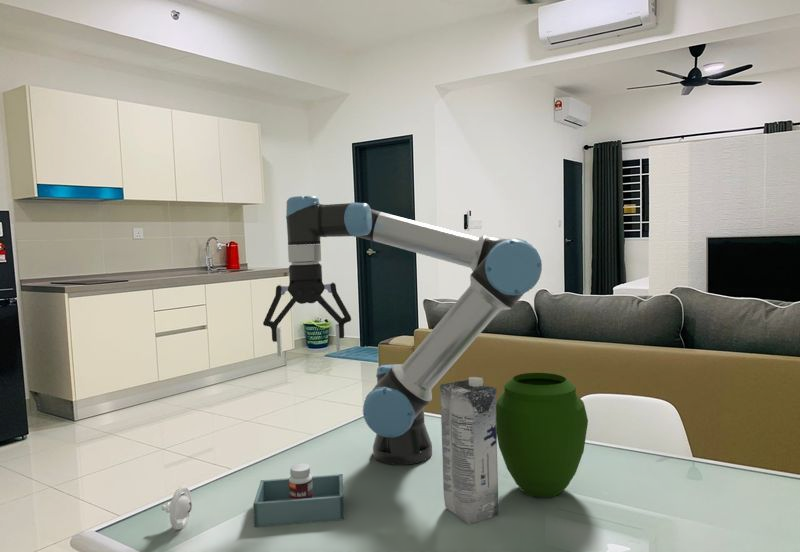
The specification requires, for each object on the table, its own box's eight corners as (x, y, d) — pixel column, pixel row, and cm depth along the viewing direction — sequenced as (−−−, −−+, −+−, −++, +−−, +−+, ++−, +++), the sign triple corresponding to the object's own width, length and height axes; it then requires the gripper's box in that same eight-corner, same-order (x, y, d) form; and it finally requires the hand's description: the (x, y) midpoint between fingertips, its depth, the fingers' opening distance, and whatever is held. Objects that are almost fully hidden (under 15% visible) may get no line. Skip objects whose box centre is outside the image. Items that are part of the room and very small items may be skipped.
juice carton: (467, 528, 111) (463, 387, 109) (438, 507, 120) (434, 377, 118) (505, 517, 115) (502, 381, 113) (474, 497, 124) (471, 371, 122)
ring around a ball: (182, 537, 111) (179, 496, 111) (153, 537, 112) (150, 496, 111) (199, 517, 119) (197, 479, 119) (172, 517, 120) (169, 479, 119)
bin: (343, 494, 128) (342, 474, 127) (344, 519, 116) (343, 497, 116) (261, 501, 126) (260, 480, 125) (254, 527, 114) (253, 504, 114)
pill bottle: (286, 511, 119) (284, 471, 119) (295, 500, 124) (293, 462, 123) (308, 513, 118) (306, 472, 118) (316, 502, 123) (315, 463, 122)
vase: (594, 479, 131) (593, 371, 129) (582, 518, 113) (580, 394, 112) (508, 467, 139) (506, 366, 138) (484, 502, 122) (481, 386, 120)
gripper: (358, 260, 142) (361, 347, 143) (252, 264, 139) (257, 353, 141) (359, 261, 134) (363, 353, 136) (248, 266, 132) (252, 359, 133)
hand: (309, 353), depth 138 cm, fingers open, 13 cm apart
